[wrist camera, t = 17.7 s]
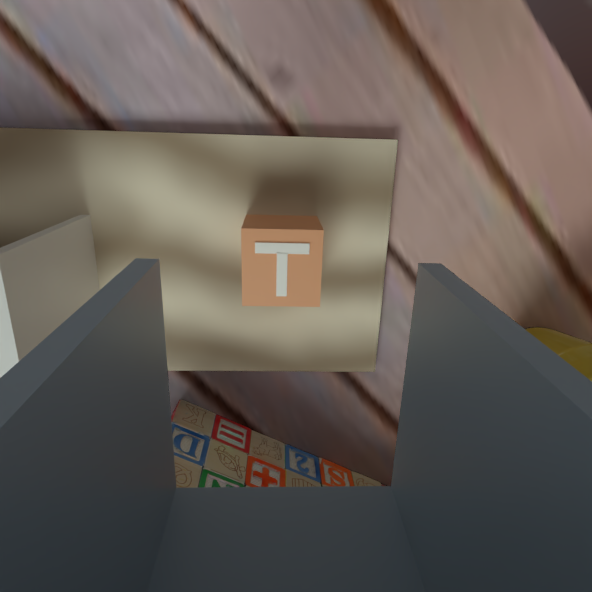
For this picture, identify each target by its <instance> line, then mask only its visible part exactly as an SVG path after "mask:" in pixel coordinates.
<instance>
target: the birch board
mask: <svg viewBox="0 0 592 592" xmlns="http://www.w3.org/2000/svg"><path fill="white" fill-rule="evenodd" d="M397 144H398V140H392V139H359V138H327V137H294V136H262V135H229V134H197V133H164V132H132V131H99V130H67V129H34V128H2V127H0V248H1V247H3V246H6V245H8V244H11V243H13V242H15V241H18V240H20V239H23V238H25V237H28V236H30V235H32V234H35V233H37V232H40V231H42V230H44V229H47V228H49V227H52V226H54V225H57V224H59V223H61V222H64V221H66V220H69V219H71V218H73V217H76V216H78V215H90V217H91V225H92V233H93V241H94V249H95V257H96V265H97V273H98V281H99V289H102V288H103V287H104V286H105V285H106V284H107V283H108V282H110V281H111V280H112V279H113V278H114V277H115V276H116V275H117V274H119V273H120V272H121V271H122V270H123V269H124V268H125V267H127V266H128V265H129V264H130V263H131V262H132V261H133V260H134V259H136V258H143V259H159V261H160V275H161V288H162V301H163V315H164V328H165V342H166V355H167V368H168V371H329V372H375V365H376V355H377V345H378V335H379V324H380V314H381V304H382V294H383V284H384V274H385V264H386V254H387V244H388V234H389V224H390V214H391V204H392V194H393V184H394V174H395V164H396V154H397ZM246 214H250V215H295V216H317V217H318V219H319V221H320V223H321V225H322V227H323V229H324V237H323V257H322V277H321V296H320V307H288V306H242V259H241V227H242V225H243V222H244V219H245V216H246Z"/></svg>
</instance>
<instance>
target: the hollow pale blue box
mask: <svg viewBox="0 0 592 592" xmlns="http://www.w3.org/2000/svg"><path fill="white" fill-rule="evenodd" d="M0 592H592V381H590V380H589V379H588V378H587V377H585V376H584V375H583V374H581V373H580V372H579V371H578V370H576V369H575V368H574V367H573V366H571V365H570V364H569V363H567V362H566V361H565V360H564V359H562V358H561V357H560V356H558V355H557V354H556V353H555V352H553V351H552V350H551V349H549V348H548V347H547V346H546V345H544V344H543V343H542V342H541V341H539V340H538V339H537V338H535V337H534V336H533V335H532V334H530V333H529V332H528V331H526V330H525V329H524V328H523V327H521V326H520V325H519V324H517V323H516V322H515V321H514V320H512V319H511V318H510V317H509V316H507V315H506V314H505V313H503V312H502V311H501V310H500V309H498V308H497V307H496V306H494V305H493V304H492V303H491V302H489V301H488V300H487V299H486V298H484V297H483V296H482V295H480V294H479V293H478V292H477V291H475V290H474V289H473V288H471V287H470V286H469V285H468V284H466V283H465V282H464V281H462V280H461V279H460V278H459V277H457V276H456V275H455V274H454V273H452V272H451V271H450V270H448V269H447V268H446V267H445V266H443V265H442V264H436V263H419V264H418V272H417V280H416V288H415V296H414V304H413V313H412V321H411V329H410V337H409V345H408V353H407V361H406V369H405V377H404V385H403V393H402V401H401V409H400V417H399V425H398V433H397V441H396V449H395V457H394V465H393V473H392V481H391V486H330V487H200V488H176V475H175V462H174V448H173V435H172V422H171V408H170V395H169V382H168V368H167V355H166V342H165V328H164V315H163V301H162V288H161V275H160V261H159V259H143V258H136V259H134V260H133V261H132V262H131V263H130V264H129V265H128V266H127V267H125V268H124V269H123V270H122V271H121V272H120V273H119V274H117V275H116V276H115V277H114V278H113V279H112V280H111V281H110V282H108V283H107V284H106V285H105V286H104V287H103V288H102V289H100V290H99V291H98V292H97V293H96V294H95V295H94V296H93V297H91V298H90V299H89V300H88V301H87V302H86V303H85V304H83V305H82V306H81V307H80V308H79V309H78V310H77V311H76V312H74V313H73V314H72V315H71V316H70V317H69V318H68V319H67V320H65V321H64V322H63V323H62V324H61V325H60V326H59V327H57V328H56V329H55V330H54V331H53V332H52V333H51V334H50V335H48V336H47V337H46V338H45V339H44V340H43V341H42V342H40V343H39V344H38V345H37V346H36V347H35V348H34V349H33V350H31V351H30V352H29V353H28V354H27V355H26V356H25V357H24V358H22V359H21V360H20V361H19V362H18V363H17V364H16V365H14V366H13V367H12V368H11V369H10V370H9V371H8V372H7V373H5V374H4V375H3V376H2V377H1V378H0Z"/></svg>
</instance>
